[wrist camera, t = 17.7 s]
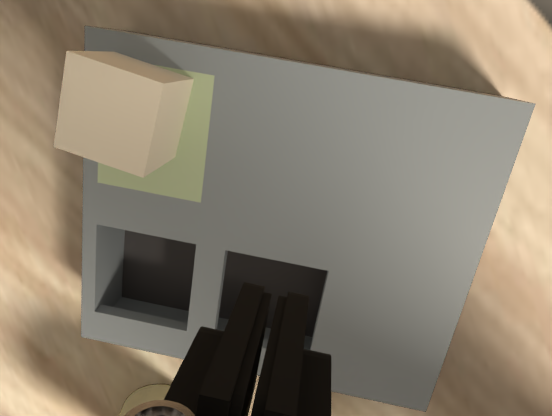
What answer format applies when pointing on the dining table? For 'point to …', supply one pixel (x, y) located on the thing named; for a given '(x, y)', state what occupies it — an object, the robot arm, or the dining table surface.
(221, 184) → the box
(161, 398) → the can
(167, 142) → the block
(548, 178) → the dining table surface
